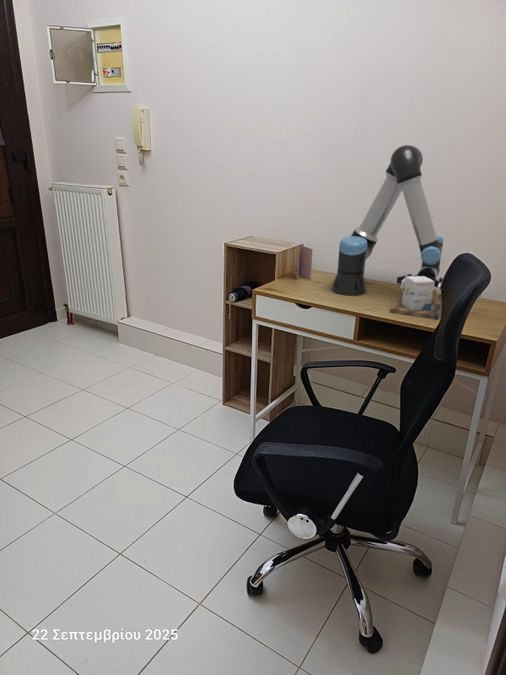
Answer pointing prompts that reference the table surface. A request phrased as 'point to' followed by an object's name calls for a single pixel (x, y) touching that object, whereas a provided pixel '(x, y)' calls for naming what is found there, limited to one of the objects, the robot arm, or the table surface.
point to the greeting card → (304, 262)
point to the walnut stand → (432, 313)
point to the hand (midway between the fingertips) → (419, 287)
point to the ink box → (418, 293)
